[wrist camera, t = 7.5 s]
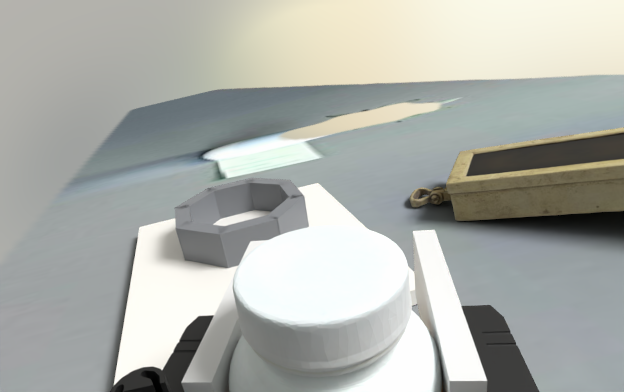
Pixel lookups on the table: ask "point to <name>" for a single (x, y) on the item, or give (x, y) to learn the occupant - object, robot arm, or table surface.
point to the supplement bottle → (330, 317)
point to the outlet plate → (191, 284)
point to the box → (536, 178)
